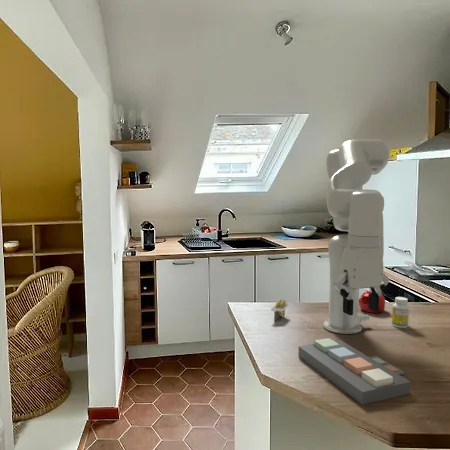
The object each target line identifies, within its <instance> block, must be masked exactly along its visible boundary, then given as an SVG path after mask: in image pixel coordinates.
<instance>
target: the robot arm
mask: <svg viewBox="0 0 450 450" xmlns="http://www.w3.org/2000/svg"><path fill="white" fill-rule="evenodd" d="M389 158H390V152H389V147H388V145H387V143H386V142H385V141H384V140H382V139H350V140H347V141H344V142H343V143H342V144H340V146H339V149H333V150H331V151H330V152H329V153H327V156H326V172H327V176H328V178H329V181H328V182H327V187H326V193H325V194H326V207H327V211H328V213H329V215H330V216H332V222H333V226H334V229H336V230H338V231H340V232H347V233H348V234H339V235H335V236H333V237H331V238H330V239H329V241H328V246H327V248H328V249H327V250H328V258H329V260H328V261H329V290H328V292H329V293H328V318H327V319H326V320H324V321H323V328H325V329H326V330H327V331H329V332H332V333H337V334H343V335H352V334H357V333H360V332H362V331H363V325H362V324H361V323H362V322H367V321H369V320H370V316H369V314H361V313H359V302H358V301H359V299H360V297H359V296H360V294H359V293H360V290H361V289H363V290H364V289H368V290H369V289H370V290H369V291H371V293H370V294H369V303H368V308H369V309H370V310H373V311H375V312H378V311H379V296H381V295H383V293H384V292H383V291H384V290H385V289H386V286H387V285H388V284H389V282H390V277H389V276H387V274H385V273H384V254H385V253H384V249H385V248H384V247H385V245H384V243H385V242H384V214H383V211H384V210H385V209H384V207H385V198H384V196H383V195H382V193H381V192H380V191H378V190H376V189H360V187H362V186H364V185H366V184H367V183H369V181H370V179H371V177H372V176H375V175H378V174H380V172H382V170H384V169H385V168H386V167H387V165H388V163H389ZM382 292H383V293H382Z"/></svg>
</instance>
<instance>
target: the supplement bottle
mask: <svg viewBox="0 0 450 450" xmlns="http://www.w3.org/2000/svg"><path fill="white" fill-rule="evenodd" d="M408 300H409V299H408V298H407V297H402V296H396V297H395V299H394V302H395V303H393V304H392V309H391V311H392V313H391V324H392V326H393V327H395V328H399V329H405V328H408V327H409V321H410V305H409V304H408V302H409V301H408Z"/></svg>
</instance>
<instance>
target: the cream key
mask: <svg viewBox="0 0 450 450" xmlns="http://www.w3.org/2000/svg"><path fill="white" fill-rule="evenodd" d="M362 379H363V380H365V381H366V382H368V383H369V384H370V385H372V386H373V387H375V388H377V387H382V386H386V385H391V384H393V377H392V376H390V375H389V374H387V373H385V372H384V371H382V370H381V369H379V368H377V369H372V370H367V371H362Z"/></svg>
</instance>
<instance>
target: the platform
mask: <svg viewBox="0 0 450 450" xmlns="http://www.w3.org/2000/svg"><path fill="white" fill-rule="evenodd" d="M288 307H289V303H288V302H286V299H284V300H283V299H280V300H278V301H277V302H276V304H275V305H274V306H273V307H271V308H270V311H271V312H274V316H273V321H274V322H276V321H277V320H279V318H280V317H283V318H285V317H286V308H288Z"/></svg>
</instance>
